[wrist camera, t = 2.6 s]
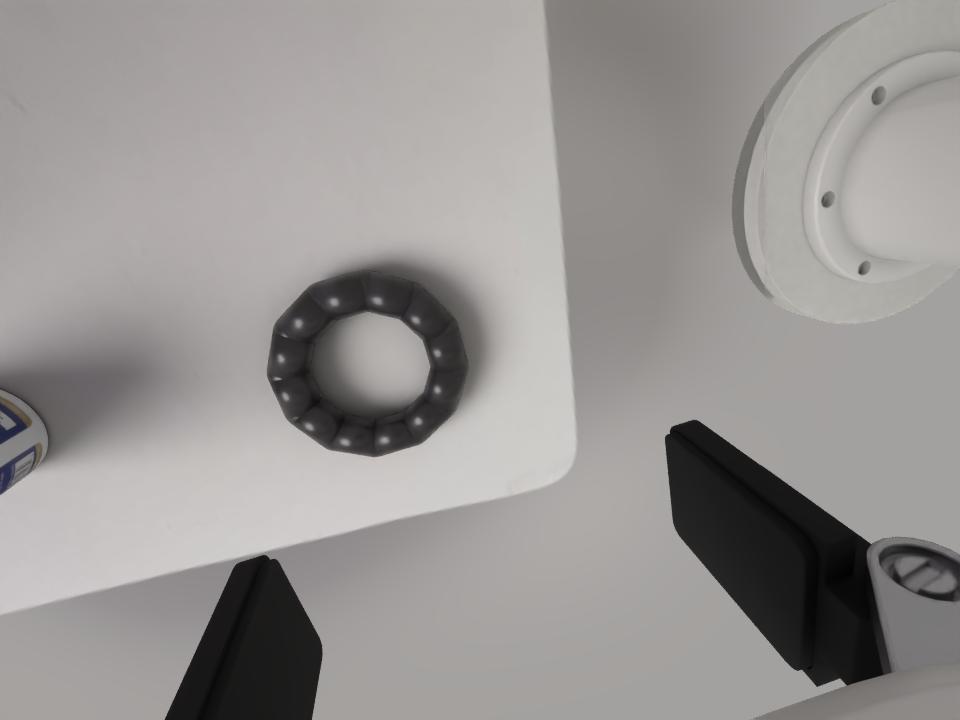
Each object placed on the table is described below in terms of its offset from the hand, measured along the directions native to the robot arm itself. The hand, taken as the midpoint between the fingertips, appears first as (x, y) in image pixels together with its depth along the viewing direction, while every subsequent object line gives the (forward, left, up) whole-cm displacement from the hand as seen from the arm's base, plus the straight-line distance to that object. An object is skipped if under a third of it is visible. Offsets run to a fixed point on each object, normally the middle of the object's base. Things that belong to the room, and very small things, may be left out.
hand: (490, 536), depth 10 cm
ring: (+4, 0, -14) cm, 15 cm away
